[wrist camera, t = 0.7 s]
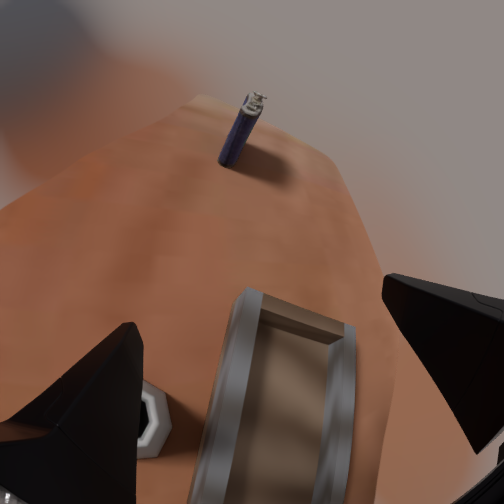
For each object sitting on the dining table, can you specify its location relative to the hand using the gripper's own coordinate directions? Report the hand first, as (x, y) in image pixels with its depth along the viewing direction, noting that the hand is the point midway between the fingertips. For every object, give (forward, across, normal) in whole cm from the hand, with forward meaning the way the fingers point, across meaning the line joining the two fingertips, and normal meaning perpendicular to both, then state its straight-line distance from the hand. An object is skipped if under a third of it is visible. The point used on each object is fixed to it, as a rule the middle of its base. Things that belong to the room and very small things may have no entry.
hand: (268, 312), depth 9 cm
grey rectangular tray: (+5, 0, +16) cm, 17 cm away
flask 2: (+36, -2, -4) cm, 36 cm away
